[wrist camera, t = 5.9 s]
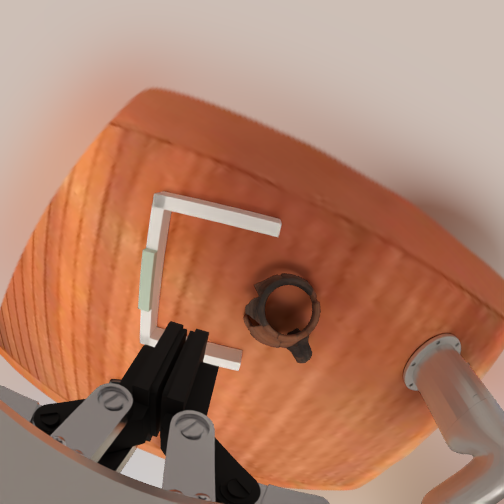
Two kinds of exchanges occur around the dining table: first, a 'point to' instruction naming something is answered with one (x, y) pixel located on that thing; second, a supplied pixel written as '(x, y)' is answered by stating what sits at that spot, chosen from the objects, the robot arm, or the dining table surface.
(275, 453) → the dining table surface
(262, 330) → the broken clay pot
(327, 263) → the dining table surface
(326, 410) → the dining table surface
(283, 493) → the robot arm
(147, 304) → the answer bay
